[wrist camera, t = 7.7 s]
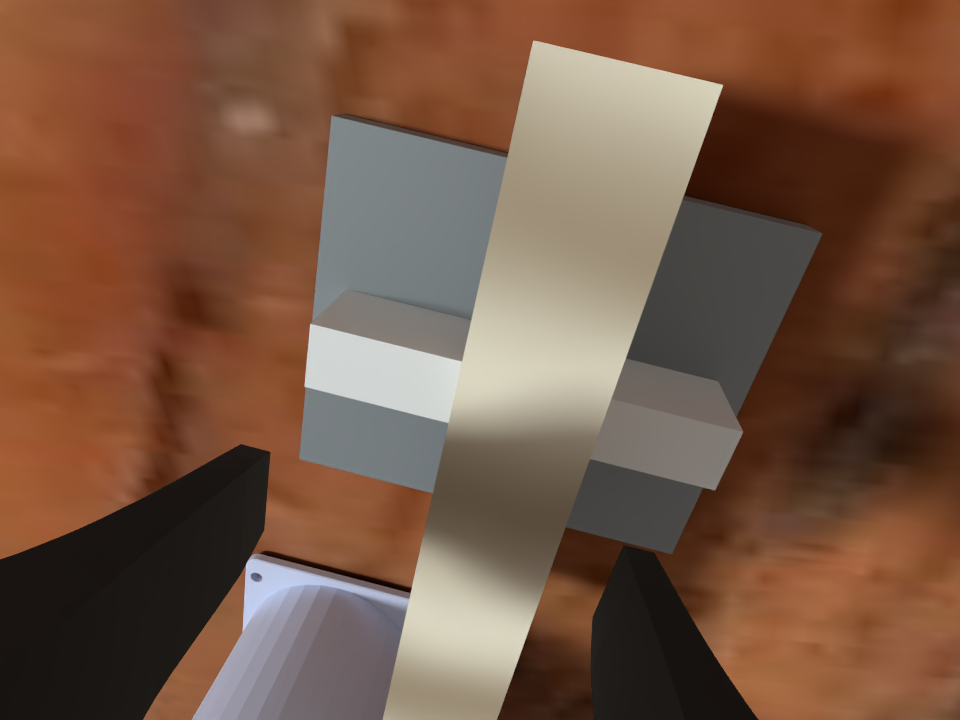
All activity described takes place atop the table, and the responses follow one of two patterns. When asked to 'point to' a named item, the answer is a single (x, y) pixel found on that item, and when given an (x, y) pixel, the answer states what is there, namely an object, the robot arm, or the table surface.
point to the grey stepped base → (449, 308)
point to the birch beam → (542, 360)
